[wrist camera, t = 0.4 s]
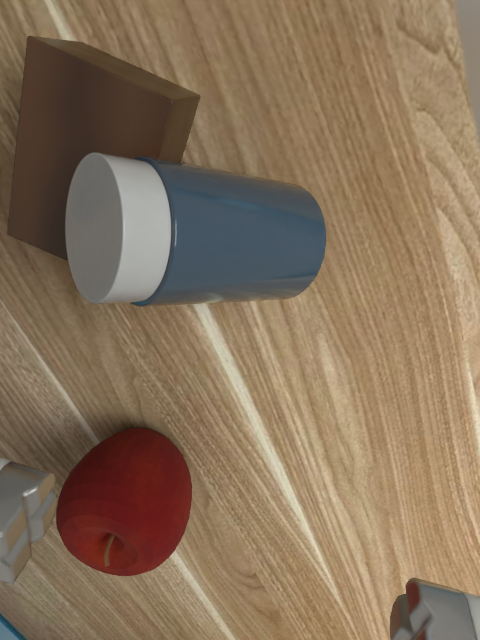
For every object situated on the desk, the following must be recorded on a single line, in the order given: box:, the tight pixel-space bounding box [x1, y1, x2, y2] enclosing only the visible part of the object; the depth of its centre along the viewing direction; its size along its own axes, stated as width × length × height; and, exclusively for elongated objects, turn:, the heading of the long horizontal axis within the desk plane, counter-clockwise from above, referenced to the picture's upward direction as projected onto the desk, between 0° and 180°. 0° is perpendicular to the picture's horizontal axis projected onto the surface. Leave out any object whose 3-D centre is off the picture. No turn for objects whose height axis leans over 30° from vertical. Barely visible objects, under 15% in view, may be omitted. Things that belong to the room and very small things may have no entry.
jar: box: [65, 152, 326, 307], centre depth 22 cm, size 12×6×12 cm, turn 69°
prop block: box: [7, 36, 200, 260], centre depth 24 cm, size 7×10×5 cm
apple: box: [56, 428, 192, 576], centre depth 34 cm, size 10×10×10 cm
